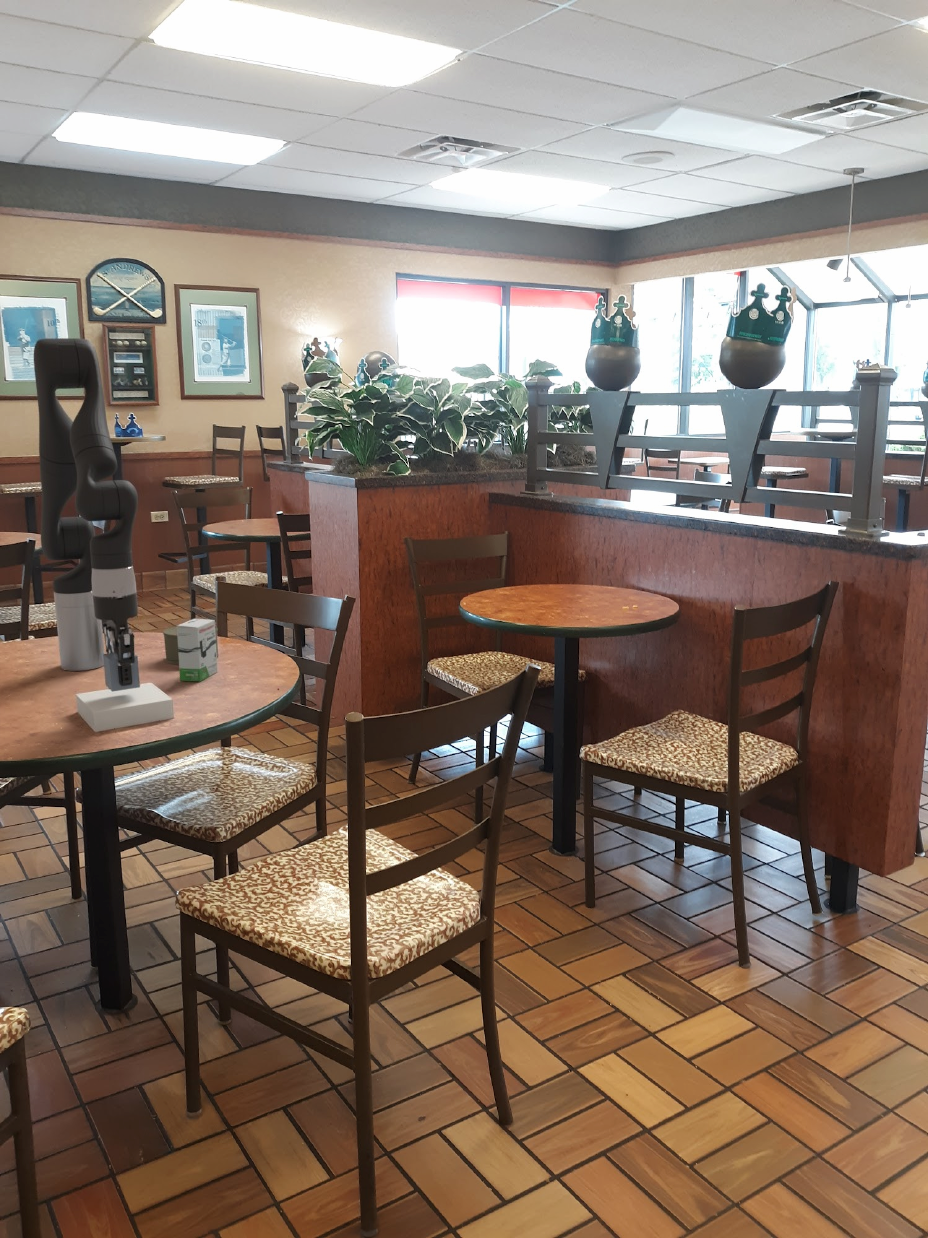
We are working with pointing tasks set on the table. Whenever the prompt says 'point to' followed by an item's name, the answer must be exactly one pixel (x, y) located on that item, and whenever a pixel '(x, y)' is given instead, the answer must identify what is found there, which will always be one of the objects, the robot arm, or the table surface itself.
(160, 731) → the table surface
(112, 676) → the slate block
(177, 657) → the can
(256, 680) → the table surface
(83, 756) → the table surface
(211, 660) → the ink box
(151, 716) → the white square slab
